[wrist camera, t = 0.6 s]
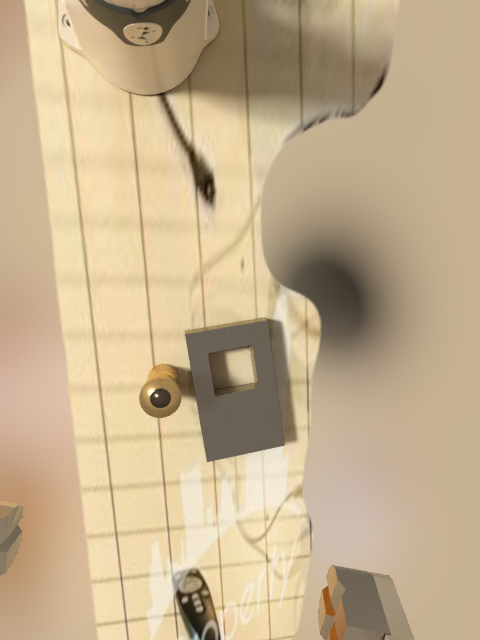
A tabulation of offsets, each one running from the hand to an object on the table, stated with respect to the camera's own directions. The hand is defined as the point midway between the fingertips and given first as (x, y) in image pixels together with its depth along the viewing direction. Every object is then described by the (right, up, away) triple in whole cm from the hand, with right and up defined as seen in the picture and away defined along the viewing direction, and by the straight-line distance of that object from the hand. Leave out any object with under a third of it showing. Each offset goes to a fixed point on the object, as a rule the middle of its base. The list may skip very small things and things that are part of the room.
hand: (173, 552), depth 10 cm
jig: (+1, -3, +46) cm, 46 cm away
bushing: (-9, -2, +44) cm, 45 cm away
